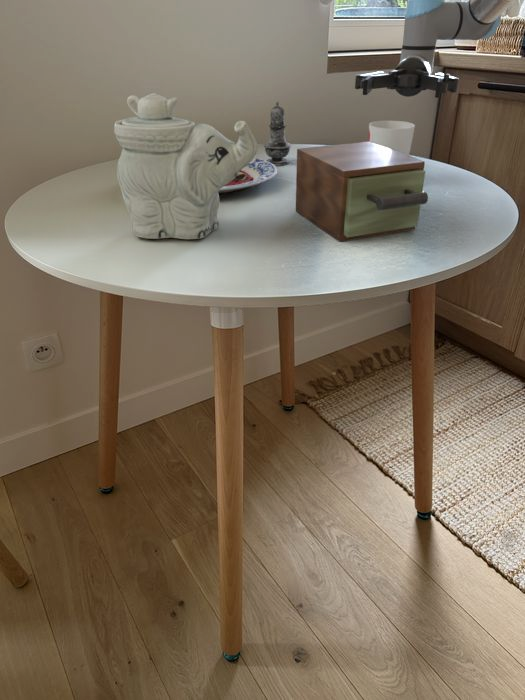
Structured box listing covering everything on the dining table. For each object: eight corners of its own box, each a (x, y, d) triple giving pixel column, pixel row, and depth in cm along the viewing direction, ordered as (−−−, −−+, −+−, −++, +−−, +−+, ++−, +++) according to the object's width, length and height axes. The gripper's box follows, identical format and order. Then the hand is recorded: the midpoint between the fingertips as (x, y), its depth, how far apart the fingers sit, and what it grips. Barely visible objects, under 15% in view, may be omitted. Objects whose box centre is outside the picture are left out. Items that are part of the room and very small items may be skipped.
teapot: (262, 232, 80) (260, 93, 70) (179, 261, 71) (164, 106, 61) (193, 208, 90) (183, 83, 80) (114, 230, 81) (91, 93, 71)
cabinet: (415, 229, 81) (425, 161, 75) (339, 241, 77) (344, 171, 71) (363, 201, 92) (369, 141, 87) (295, 211, 88) (296, 148, 83)
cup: (380, 172, 108) (386, 119, 103) (415, 180, 103) (423, 124, 98) (355, 180, 103) (360, 124, 98) (391, 189, 98) (398, 130, 93)
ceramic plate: (274, 164, 115) (274, 149, 113) (281, 200, 93) (281, 183, 92) (152, 166, 114) (150, 151, 113) (130, 203, 93) (128, 186, 91)
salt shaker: (273, 157, 119) (273, 98, 113) (296, 161, 117) (297, 100, 110) (258, 163, 115) (257, 102, 109) (281, 167, 113) (281, 104, 106)
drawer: (435, 236, 76) (445, 178, 71) (363, 248, 72) (369, 188, 68) (368, 200, 90) (373, 150, 85) (305, 209, 86) (306, 158, 82)
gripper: (467, 96, 119) (466, 112, 102) (354, 92, 125) (335, 107, 108) (474, 57, 115) (474, 67, 98) (356, 55, 121) (337, 64, 104)
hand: (401, 88), depth 103 cm, fingers open, 13 cm apart
